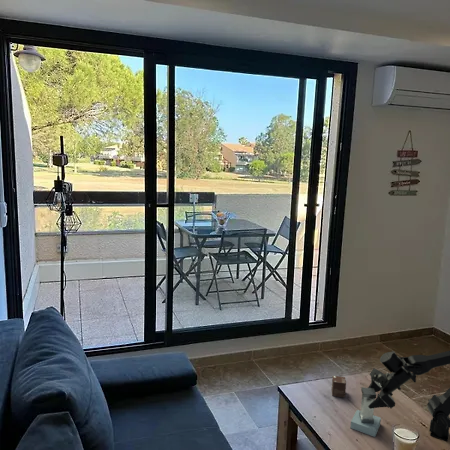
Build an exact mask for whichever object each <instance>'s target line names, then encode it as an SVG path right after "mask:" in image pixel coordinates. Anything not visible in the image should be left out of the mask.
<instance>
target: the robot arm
mask: <svg viewBox="0 0 450 450" xmlns="http://www.w3.org/2000/svg"><path fill="white" fill-rule="evenodd" d="M379 362H380V363H381V364H382V365H383V366H384V367H385V368H386V369H387V370H388V371H389V372H386V373H384V372H383V371H381V370H378V369H376V368H374V367H373V368H372V370H371V372H370V373H369V376H370V384H369V386H367V388H374V390H375V393H377V394H376V398H375V400H374V401H373V402H372V403H371V404H370V405H369V406H368V407H369V408H370V409H371V408H374V409H376V408H377V409H379V408H390V409H393V408H394V407H395V406H396V401H395V399H394V397H392V396H393V392H395V391H397V390H398V391H400V390H401V389H402V388H401V387H402V386H403V385H404V384H405V383H407V382H409V381H410V380H412V382H414V383H416V382H417V376H421V375H425V374H426V373H429V372H430V371H431V370H432V369H435V368H439V367H442V366H447V365H450V350H448V351H443V352H440V353H439V352H438V353H434V354H430V355H426V354H425V355H424V354H415V355H414V354H413V355H410V356H402V357H401V356H398V355H397V354H396V352H395V351H394V350H392V351H388V352H384V353H383V354H382V355H381V356H380V359H379ZM378 392H379V393H378ZM427 401H428V402H427V404H426V405H427V409H428V412H429V413H430V415H431V416H432V419H430V424H429V432H430V433H429V436H431V437H433V438H436V439H440V440H442V441H444V442H449V434H450V432H449V431H450V387H449V388H447V390H445V392H444V393H443V394H442V395H438V396H437V394H433V395H432V397H431V398H429V399H428V400H427Z"/></svg>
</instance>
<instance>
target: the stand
mask: <svg viewBox="0 0 450 450" xmlns="http://www.w3.org/2000/svg"><path fill="white" fill-rule="evenodd" d="M359 412H361V409H360V410H359V409H356V411H355V413H354V414H353V417H352V419H351V421H350V429H352V430H355V431H358V432H361V433H363V434H365V435H368V436H371V437H374V438H375V437H376V436H377V433H378V431H379V428H380V426H381V421H382V417H380V416H377V415H374V414H373V419H374V424H369V423H361V420H360V417H359Z"/></svg>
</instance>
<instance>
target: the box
mask: <svg viewBox="0 0 450 450" xmlns="http://www.w3.org/2000/svg"><path fill="white" fill-rule="evenodd" d="M331 378H332V381H331V395H332V397H339V398H346V390H347V381H346V377H345V376H337V375H332V377H331Z"/></svg>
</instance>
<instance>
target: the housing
mask: <svg viewBox="0 0 450 450" xmlns="http://www.w3.org/2000/svg"><path fill="white" fill-rule="evenodd" d="M360 390H361V402H360V403H361V405H360V411H361V412H359V417H360V420H361V423H369V424H374V419H373V415H374V411H375V408H371V409H370V408H369V407H368V406H369V405H370V404H371V403H372V402H373V401H374V400H375V399H376V398H377V392H375V390H374V388H368V387H361V388H360Z"/></svg>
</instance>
